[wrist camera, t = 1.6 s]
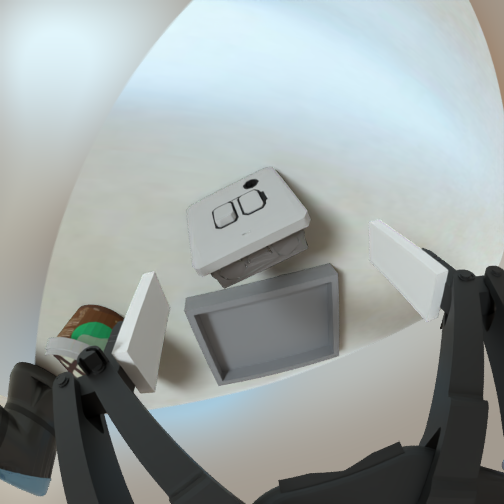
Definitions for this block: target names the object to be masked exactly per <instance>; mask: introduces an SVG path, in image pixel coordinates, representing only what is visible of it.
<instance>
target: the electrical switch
mask: <svg viewBox="0 0 504 504" xmlns="http://www.w3.org/2000/svg"><path fill="white" fill-rule="evenodd" d="M186 211H187V220H188V230H189V240H190V249H191V257H192V265H193V268H194V269H195V270H196V272H197V273H198V274H199V275H200V276H201V277H204V276H206V275H208V274H211V275H212V277H214V278H215V279H217V280H218V282H219V283H220V284H221V285H222V287H223V288H224V289H225V288H227V287H229V286H231V285H233V284H235V283H237V282H240V281H242V280H244V279H246V278H248V277H250V276H252V275H254V274H256V273H259V272H261V271H263V270H265V269H267V268H269V267H271V266H273V265H275V264H277V263H279V262H281V261H283V260H286V259H288V258H290V257H292V256H294V255H296V254H298V253H300V252H302V251H304V250H306V249H308V245H307V242H306V240H305V235H304V230H303V229H304V228H306V227H308V225H309V223H310V221H311V218H310V216H309V214H308V211H307V210H306V208H305V207H304V206H303V204H302V203H301V202H300V200H299V199H298V198H297V197H296V195H295V194H294V193H293V191H292V190H291V189H290V188H289V186H288V185H287V184H286V183H285V181H284V180H283V179H282V178H281V176H280V175H279V174H278V173H277V171H276V170H275V169H274V168H273V167H266V168H264V169H262V170H260V171H258V172H256V173H253V174H251V175H249V176H247V177H245V178H243V179H241V180H239V181H237V182H235V183H233V184H231V185H229V186H227V187H225V188H223V189H221V190H219V191H217V192H215V193H213V194H211V195H209V196H207V197H206V198H204V199H202V200H200V201H198V202H196V203H194V204H192V205H191V206H189V208H188V209H187V210H186ZM268 248H269V249H270V250H271V252H272V253H271V252H269V251H268ZM294 250H295V251H294ZM248 260H249V262H250V263H249V262H248ZM246 266H247V268H246ZM224 277H225V278H224ZM239 277H240V278H239ZM226 278H227V279H226Z"/></svg>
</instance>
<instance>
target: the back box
mask: <svg viewBox="0 0 504 504" xmlns="http://www.w3.org/2000/svg"><path fill="white" fill-rule="evenodd" d="M184 311H185V314H186V316H187V319H188V321H189V323H190V325H191V328H192V330H193V332H194V335H195V337H196V339H197V341H198V344H199V346H200V348H201V350H202V352H203V354H204V357H205V359H206V361H207V363H208V365H209V367H210V369H211V371H212V373H213V375H214V377H215V380H216V382H217V384H218V386H220V385H226V384H231V383H236V382H241V381H246V380H251V379H256V378H260V377H264V376H269V375H273V374H277V373H281V372H285V371H289V370H293V369H296V368H300V367H304V366H307V365H311V364H314V363H317V362H321V361H324V360H327V359H330V358H334V357H337V356H339V287H338V273H337V272H336V271H335V269H334V268H333V267H332V266H331V264H330V263H329V264H325V265H321V266H318V267H314V268H310V269H306V270H302V271H298V272H294V273H290V274H286V275H282V276H278V277H274V278H270V279H266V280H262V281H258V282H254V283H249V284H245V285H241V286H237V287H233V288H228V289H224V290H220V291H215V292H211V293H206V294H202V295H197V296H193V297H188V298H186V302H185V310H184Z"/></svg>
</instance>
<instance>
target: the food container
mask: <svg viewBox="0 0 504 504" xmlns="http://www.w3.org/2000/svg"><path fill="white" fill-rule="evenodd" d="M119 321H124V319H123V318H122V317H121V316H120V315H119V314H117V313H116V312H114V311H112V310H111V309H108V308H106V307H103V306H99V305H84V306H81V307H80V308H79V309H78V310H77V311H76V313H75V314H74V315H73V316H72V318H71V319H70V320H69V322H68V323H67V324H66V325H65V327H64V328H63V329H62V331H61V332H60V333H59V335H58V336H57V337H53V338H49V339H48V341H47V345H46V348H45V349H46V350H47V351H46V353H45V355H53V356H54V357H56V358H57V359H58V360H59V361H60V363H61V364H62V365H63V366H64V367H65V368H66V369H67V370H68V372H70V373H72V374H73V375H74V377H75V378H77V377H80V376H83V375H86V374H85V373H84V372H83V371H82V369H81V368H80V367H79V365H78V364H77V358H78V355H79V354H80V353H81V352H82V351H83V350H84V349H85V348H87V347H89V346H94V345H95V346H99V347H100V348H101V350H102V351H104V349H105V346H106V343H107V342H108V338H109V337H110V333H111V331H112V329H113V327H114V326H115V325H116V324H117V323H118V322H119Z"/></svg>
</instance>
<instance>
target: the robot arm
mask: <svg viewBox="0 0 504 504" xmlns="http://www.w3.org/2000/svg"><path fill="white" fill-rule="evenodd" d="M369 261H370V262H371V263H372V264H373V265H374V266H375V267H376V268H377V269H378V270H379V271H380V272H381V273H382V274H383V275H384V276H385V277H386V278H387V279H388V280H389V282H390V283H391V284H392V285H393V286H394V287H395V288H396V289H397V290H398V291H399V292H400V293H401V294H402V295H403V296H404V298H405V299H406V300H407V301H408V302H409V303H410V304H411V305H412V306H413V307H414V309H415V310H416V311H417V312H418V313H419V314H420V315H421V316H422V318H423V319H424V320H425V321H426V322H429V321H431V320H433V319H435V318H437V317H438V315H439V311H440V307H441V309H442V310H443V311H444V312H445V313H444V316H443V320H442V323H441V327H440V329H442V340H441V349H440V357H439V365H438V372H437V378H436V384H435V390H434V395H433V400H432V404H431V409H430V413H429V418H428V421H427V425H426V429H425V432H424V435H423V437H422V439H421V441H420V444H419V446H404V447H402V446H401V444H400V442H397V443H395V444H393V445H390V446H388V447H386V448H383V449H381V450H379V451H377V452H374V453H372V454H370V455H369V456H367V457H366V458H364V459H363V460H361V461H360V462H358V463H356V464H355V465H353V466H351V467H350V468H348V469H346V470H344V471H339V472H326V473H310V474H306V475H301V476H298V477H293V478H288V479H283V480H279V486H278V487H275V488H273V489H271V490H270V491H268V492H266V493H265V494H263V495H262V496H261V497H259V498H258V499H257V500H256V501H255V502H254V503H253V504H504V473H503V472H499V471H496V470H492V469H489V468H485V467H482V466H480V464H481V459H482V454H483V449H484V443H485V436H486V429H487V419H488V409H489V407H488V401H485V400H483V387H484V386H483V385H484V344H485V347H486V351H487V354H488V358H489V361H490V365H491V369H492V373H493V378H494V382H495V387H496V391H497V396H498V402H499V407H500V414H501V421H502V429H503V435H504V270H503V269H501V268H500V267H497V266H488V267H487V268H486V271H485V275H484V276H475V275H474V274H473V273H472V272H470V271H468V270H457V271H456V270H455V269H454V268H453V267H451V266H450V265H449V264H447V263H446V262H445V261H444V260H442V259H441V258H440V257H437V255H436V254H434V253H433V252H432V251H430V250H427V249H424V248H419V247H418V246H416V245H415V244H414V243H412V242H411V241H410V240H408V239H407V238H405V237H404V236H403V235H401V234H400V233H398V232H397V231H396V230H394V229H393V228H391V227H390V226H388V225H387V224H386V223H384V222H383V221H381V220H380V219H378V220H373V221H369ZM169 312H170V306H169V304H168V302H167V299H166V297H165V295H164V292H163V290H162V288H161V285H160V283H159V280H158V278H157V276H156V273H155V271H153V272H148V273H144V274H143V275H142V278H141V280H140V282H139V285H138V287H137V289H136V292H135V294H134V296H133V299H132V301H131V304H130V306H129V309H128V311H127V314H126V316H125V319H124V321H119V322H118V323H117V324H116V325H115V326H114V327H113V329H112V331H111V333H110V337H109V338H108V342H107V343H106V346H105V349H104V351H102V350H101V348H100V347H99V346H95V345H94V346H89V347H87V348H85V349H84V350H83V351H82V352H81V353H80V354H79V355H78V358H77V364H78V365H79V367H80V368H81V369H82V371H83V372H84V373H85V374H86V375H83V376H80V377H77V378H75V377H74V375H73V374H72V373H70V372H64V373H62V374H60V375H58V377H55V376H54V375H52V374H51V373H49V372H48V371H46V370H44V369H42V368H40V367H38V366H36V365H33V364H30V363H26V362H19V363H17V364H16V365H15V366H14V368H13V370H12V372H11V374H10V383H9V390H8V399H7V403H6V405H5V407H4V408H3V407H2V406H1V405H0V479H1V480H3V481H5V482H7V483H9V484H11V485H13V486H15V487H17V488H19V489H21V490H24V491H26V492H29V493H31V494H34V495H36V496H43V495H45V494H46V493H47V490H48V487H49V483H50V481H51V474H52V469H53V465H54V460H55V456H56V451H57V454H58V460H59V466H60V472H61V477H62V482H63V487H64V491H65V495H66V500H67V503H68V504H134V502H133V500H132V498H131V495H130V493H129V490H128V488H127V486H126V483H125V480H124V477H123V475H122V472H121V469H120V466H119V463H118V460H117V458H116V455H115V451H114V448H113V445H112V442H111V438H110V435H109V431H108V428H107V424H106V420H105V416H104V413H108V415H109V417H110V418H111V420H112V422H113V423H114V425H115V426H116V428H117V429H118V431H119V432H120V434H121V435H122V437H123V438H124V440H125V441H126V443H127V444H128V446H129V447H130V449H131V450H132V451H133V453H134V454H135V456H136V457H137V458H138V459H139V461H140V462H141V464H142V465H143V466H144V467H145V469H146V470H147V471H148V472H149V474H150V475H151V476H152V477H153V479H154V480H155V481H156V482H157V483H158V485H159V486H160V487H161V488H162V489H163V490H164V491H165V493H166V494H167V495H168V496H169V501H170V503H171V504H245V503H244V502H243V501H241V500H240V499H239V498H237V497H236V496H235V495H233V494H232V493H231V492H229V491H228V490H227V489H226V488H224V487H223V486H222V485H221V484H220V483H219V482H217V481H216V480H215V479H214V478H213V477H211V475H209V474H208V473H207V472H206V471H205V470H204V469H203V468H202V467H201V466H199V465H198V464H197V463H196V462H195V461H194V460H193V459H192V458H191V457H190V456H189V455H188V454H187V453H186V452H185V451H184V450H183V449H182V448H181V447H180V446H179V445H178V444H177V443H176V442H175V441H174V440H173V439H172V437H171V436H170V435H169V434H168V433H167V432H166V431H165V430H164V429H163V428H162V427H161V425H160V424H159V423H158V422H157V421H156V420H155V419H154V417H153V416H152V415H151V414H150V413H149V411H148V410H147V409H146V408H145V407H144V405H143V404H142V403H141V402H140V400H139V399H138V398H137V397H136V395H135V394H134V388H135V387H136V388H137V389H138V391H139V392H140V393H152V392H155V389H156V383H157V376H158V370H159V364H160V358H161V353H162V347H163V342H164V337H165V331H166V326H167V321H168V316H169ZM483 341H484V342H483ZM502 468H503V470H504V460H503V462H502Z"/></svg>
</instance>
